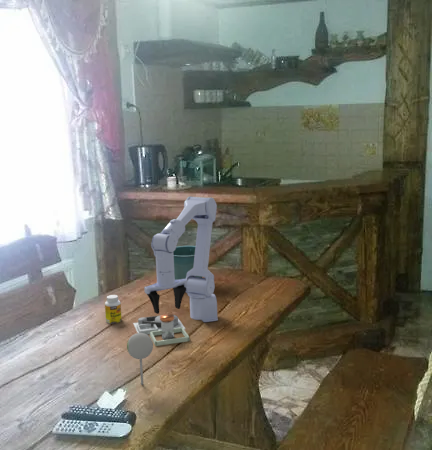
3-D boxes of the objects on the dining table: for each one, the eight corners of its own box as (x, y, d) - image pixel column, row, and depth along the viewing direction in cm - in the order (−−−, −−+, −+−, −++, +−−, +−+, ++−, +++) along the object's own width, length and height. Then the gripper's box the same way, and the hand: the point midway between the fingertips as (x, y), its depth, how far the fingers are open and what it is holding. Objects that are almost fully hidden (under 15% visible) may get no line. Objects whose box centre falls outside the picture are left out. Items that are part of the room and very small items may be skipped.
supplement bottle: (110, 327, 212) (108, 300, 210) (103, 323, 216) (101, 296, 214) (124, 324, 215) (122, 296, 213) (118, 319, 219) (116, 292, 217)
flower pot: (206, 293, 246) (205, 255, 243) (166, 294, 247) (164, 256, 243) (207, 281, 262) (206, 245, 259) (169, 282, 263) (168, 246, 259)
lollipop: (130, 379, 172) (127, 329, 169) (155, 377, 173) (152, 328, 170) (128, 391, 165) (125, 339, 162) (154, 389, 166) (152, 337, 163)
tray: (182, 334, 204) (182, 327, 204) (189, 344, 195) (189, 337, 195) (150, 338, 201) (149, 331, 200) (155, 349, 192) (155, 342, 192)
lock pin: (170, 335, 202) (168, 312, 200) (177, 339, 198) (176, 316, 197) (158, 339, 199) (157, 316, 197) (166, 343, 195) (164, 319, 194)
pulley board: (177, 320, 217) (177, 309, 216) (185, 332, 206) (185, 321, 205) (133, 326, 212) (132, 315, 212) (139, 338, 201) (138, 327, 200)
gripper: (179, 263, 201) (181, 302, 204) (139, 271, 194) (141, 311, 197) (189, 268, 195) (191, 308, 198) (149, 276, 188) (151, 317, 191)
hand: (167, 310), depth 197 cm, fingers open, 7 cm apart
